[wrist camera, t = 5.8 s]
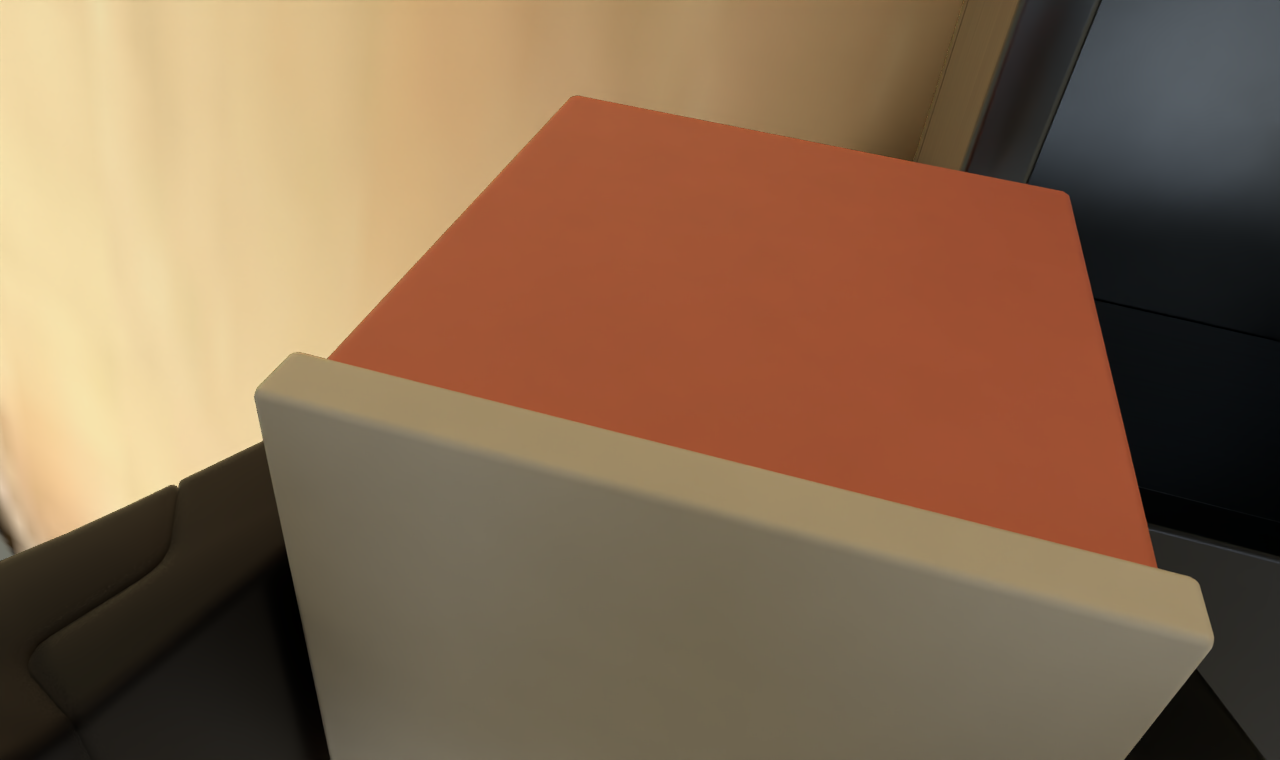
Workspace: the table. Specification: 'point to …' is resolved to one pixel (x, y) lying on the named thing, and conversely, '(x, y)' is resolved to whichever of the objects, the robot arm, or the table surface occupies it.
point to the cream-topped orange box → (727, 470)
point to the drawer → (1148, 206)
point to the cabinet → (1229, 601)
